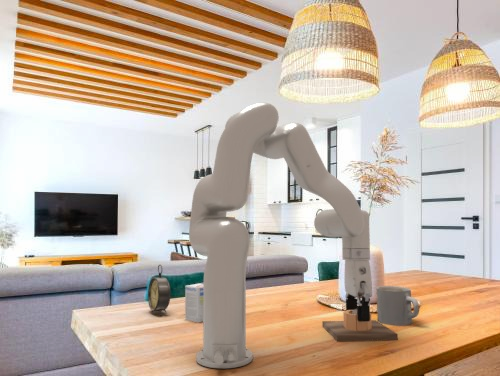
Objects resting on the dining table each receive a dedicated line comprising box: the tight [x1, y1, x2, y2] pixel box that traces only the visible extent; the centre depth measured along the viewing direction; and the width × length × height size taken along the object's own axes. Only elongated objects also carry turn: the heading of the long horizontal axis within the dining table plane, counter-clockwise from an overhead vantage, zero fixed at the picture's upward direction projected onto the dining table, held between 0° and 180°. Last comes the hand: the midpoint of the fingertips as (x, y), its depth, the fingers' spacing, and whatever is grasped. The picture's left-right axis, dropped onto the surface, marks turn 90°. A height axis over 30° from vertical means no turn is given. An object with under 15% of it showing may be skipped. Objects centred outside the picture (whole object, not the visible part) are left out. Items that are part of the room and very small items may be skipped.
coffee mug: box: [376, 285, 420, 327], centre depth 125 cm, size 13×10×10 cm
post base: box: [321, 309, 399, 342], centre depth 114 cm, size 15×16×6 cm
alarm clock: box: [147, 264, 172, 317], centre depth 138 cm, size 11×5×16 cm, turn 31°
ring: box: [342, 309, 372, 331], centre depth 114 cm, size 7×7×4 cm
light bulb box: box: [184, 282, 204, 324], centre depth 131 cm, size 11×7×11 cm, turn 141°
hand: (357, 316), depth 114 cm, fingers open, 9 cm apart
